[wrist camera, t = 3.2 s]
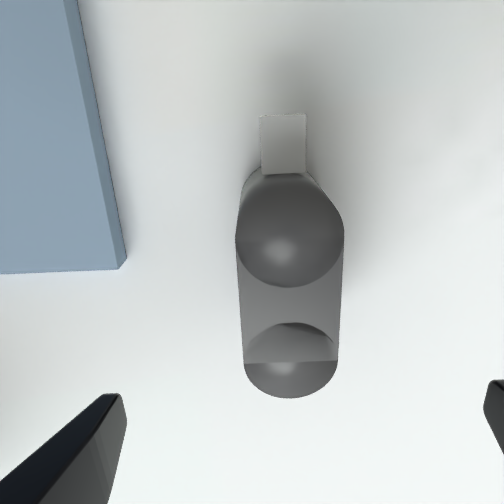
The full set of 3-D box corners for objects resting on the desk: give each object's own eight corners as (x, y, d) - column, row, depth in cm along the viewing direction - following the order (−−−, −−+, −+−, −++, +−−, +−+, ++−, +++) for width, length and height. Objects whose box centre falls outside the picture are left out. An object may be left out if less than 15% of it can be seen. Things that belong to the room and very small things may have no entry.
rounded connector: (316, 326, 19) (335, 397, 15) (248, 328, 19) (246, 399, 15) (321, 110, 15) (350, 114, 11) (235, 115, 15) (227, 120, 11)
